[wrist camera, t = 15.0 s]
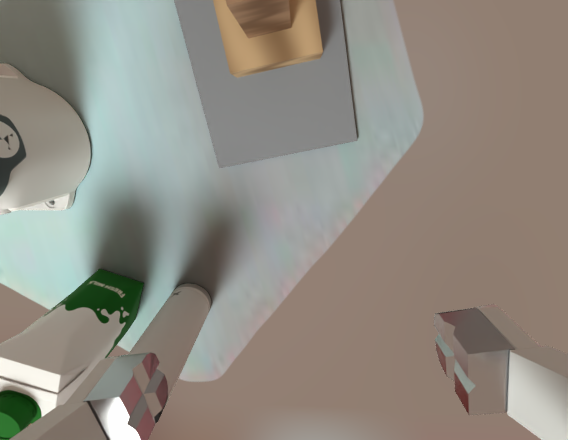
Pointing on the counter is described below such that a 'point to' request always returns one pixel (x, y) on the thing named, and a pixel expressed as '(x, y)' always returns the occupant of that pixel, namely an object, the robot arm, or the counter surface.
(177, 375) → the travel mug
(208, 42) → the grey mat
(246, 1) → the walnut column
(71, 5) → the counter surface
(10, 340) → the milk carton
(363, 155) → the counter surface
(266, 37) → the oak base block
